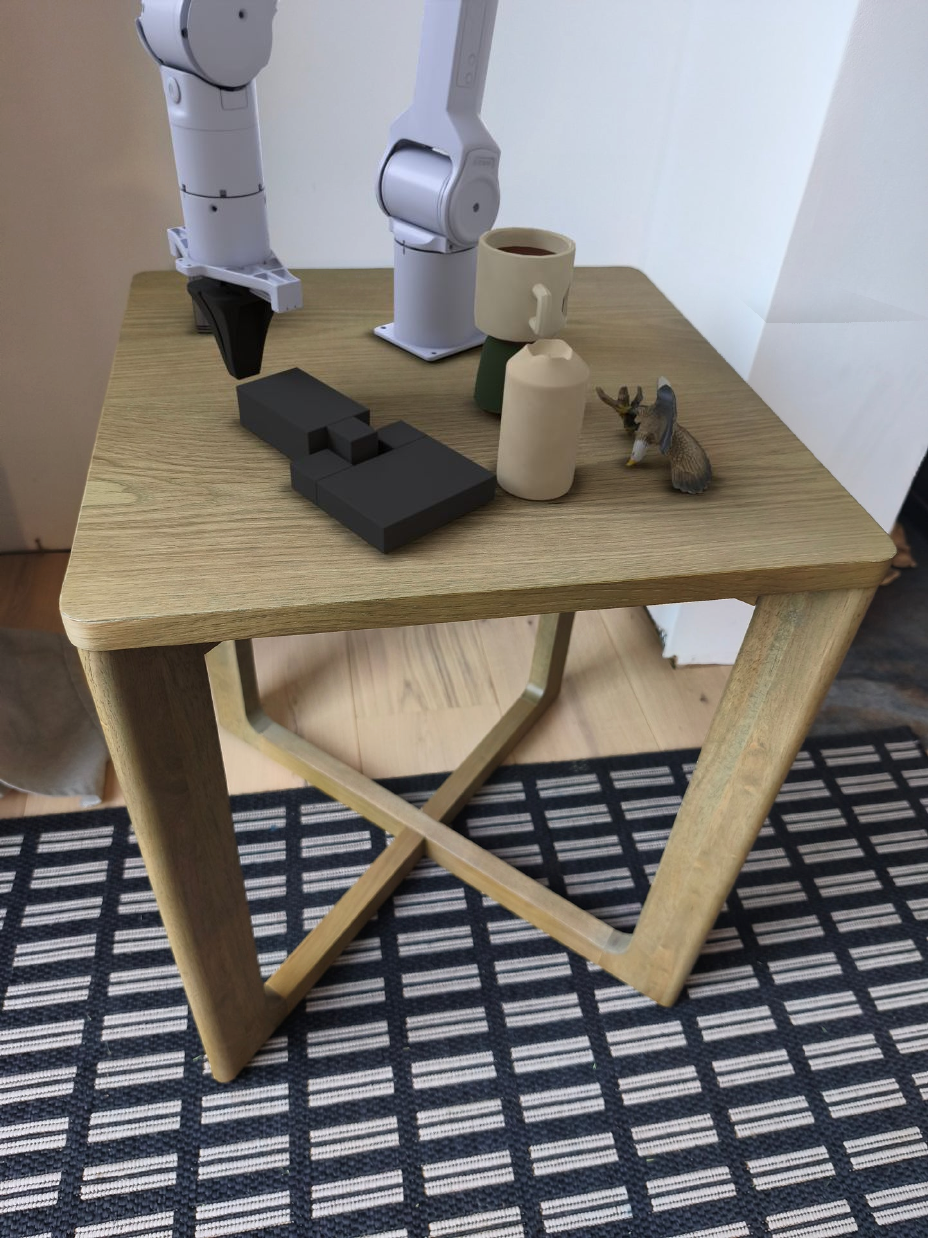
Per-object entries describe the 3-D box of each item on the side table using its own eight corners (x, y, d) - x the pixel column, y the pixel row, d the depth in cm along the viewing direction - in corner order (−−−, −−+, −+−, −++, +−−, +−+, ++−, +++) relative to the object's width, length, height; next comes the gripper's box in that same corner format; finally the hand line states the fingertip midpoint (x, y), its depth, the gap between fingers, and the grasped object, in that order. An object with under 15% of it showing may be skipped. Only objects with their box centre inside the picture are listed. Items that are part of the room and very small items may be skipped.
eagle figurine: (569, 436, 64) (649, 473, 58) (614, 347, 63) (701, 374, 56) (632, 470, 69) (712, 507, 63) (675, 388, 68) (762, 417, 61)
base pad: (384, 554, 54) (384, 528, 53) (291, 488, 59) (289, 462, 58) (495, 499, 59) (497, 474, 58) (401, 443, 65) (401, 419, 63)
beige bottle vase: (567, 506, 59) (589, 370, 53) (489, 494, 60) (501, 357, 53) (575, 467, 63) (597, 335, 57) (502, 455, 64) (515, 324, 58)
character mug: (574, 435, 67) (600, 265, 59) (486, 442, 65) (501, 268, 57) (532, 374, 75) (550, 217, 66) (453, 379, 73) (461, 218, 65)
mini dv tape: (208, 298, 84) (199, 234, 80) (223, 299, 84) (215, 235, 80) (197, 332, 78) (186, 265, 74) (214, 332, 78) (204, 265, 74)
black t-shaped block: (334, 489, 59) (332, 448, 57) (240, 424, 65) (235, 385, 63) (395, 464, 62) (395, 424, 60) (299, 404, 68) (296, 366, 66)
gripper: (116, 170, 60) (151, 355, 69) (229, 223, 52) (252, 424, 61) (205, 157, 64) (228, 334, 73) (322, 205, 56) (332, 396, 65)
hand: (244, 373), depth 67 cm, fingers closed
